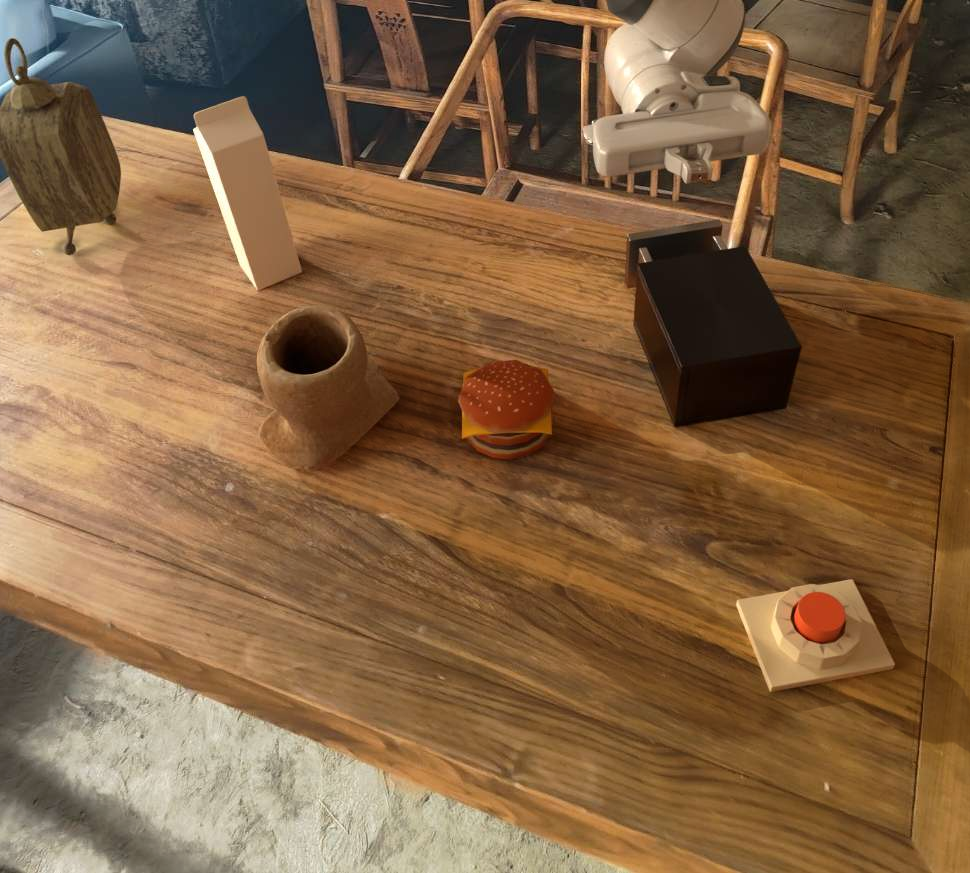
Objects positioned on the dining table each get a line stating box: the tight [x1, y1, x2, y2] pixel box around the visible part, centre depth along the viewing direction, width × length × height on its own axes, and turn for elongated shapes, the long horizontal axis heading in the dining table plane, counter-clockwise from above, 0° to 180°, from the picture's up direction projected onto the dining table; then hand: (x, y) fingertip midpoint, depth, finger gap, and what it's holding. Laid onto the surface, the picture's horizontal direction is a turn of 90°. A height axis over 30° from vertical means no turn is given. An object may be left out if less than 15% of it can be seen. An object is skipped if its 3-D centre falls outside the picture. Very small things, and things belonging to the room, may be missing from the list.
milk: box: [192, 95, 303, 291], centre depth 106 cm, size 6×6×22 cm
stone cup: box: [256, 304, 400, 472], centre depth 90 cm, size 15×12×15 cm
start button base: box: [735, 579, 896, 693], centre depth 75 cm, size 10×8×4 cm
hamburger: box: [457, 359, 556, 460], centre depth 92 cm, size 9×10×7 cm
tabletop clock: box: [0, 37, 122, 256], centre depth 113 cm, size 14×9×25 cm, turn 10°
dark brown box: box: [632, 245, 803, 428], centre depth 95 cm, size 16×12×9 cm
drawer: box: [624, 218, 729, 290], centre depth 100 cm, size 16×10×7 cm, turn 9°
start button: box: [794, 592, 846, 643], centre depth 73 cm, size 4×4×2 cm
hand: (699, 176), depth 102 cm, fingers closed
